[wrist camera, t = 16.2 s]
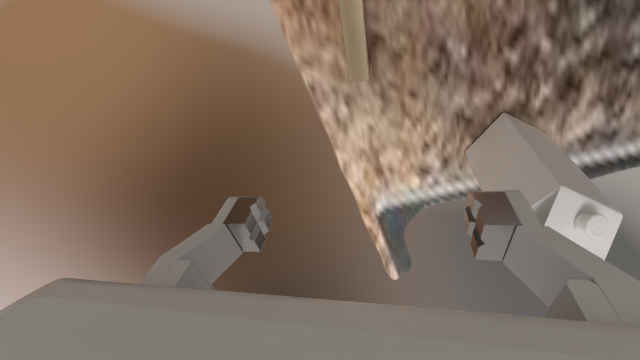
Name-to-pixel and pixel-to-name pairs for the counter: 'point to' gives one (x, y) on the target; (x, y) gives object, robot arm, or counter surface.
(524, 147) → the milk carton
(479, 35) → the counter surface
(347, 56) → the turner
